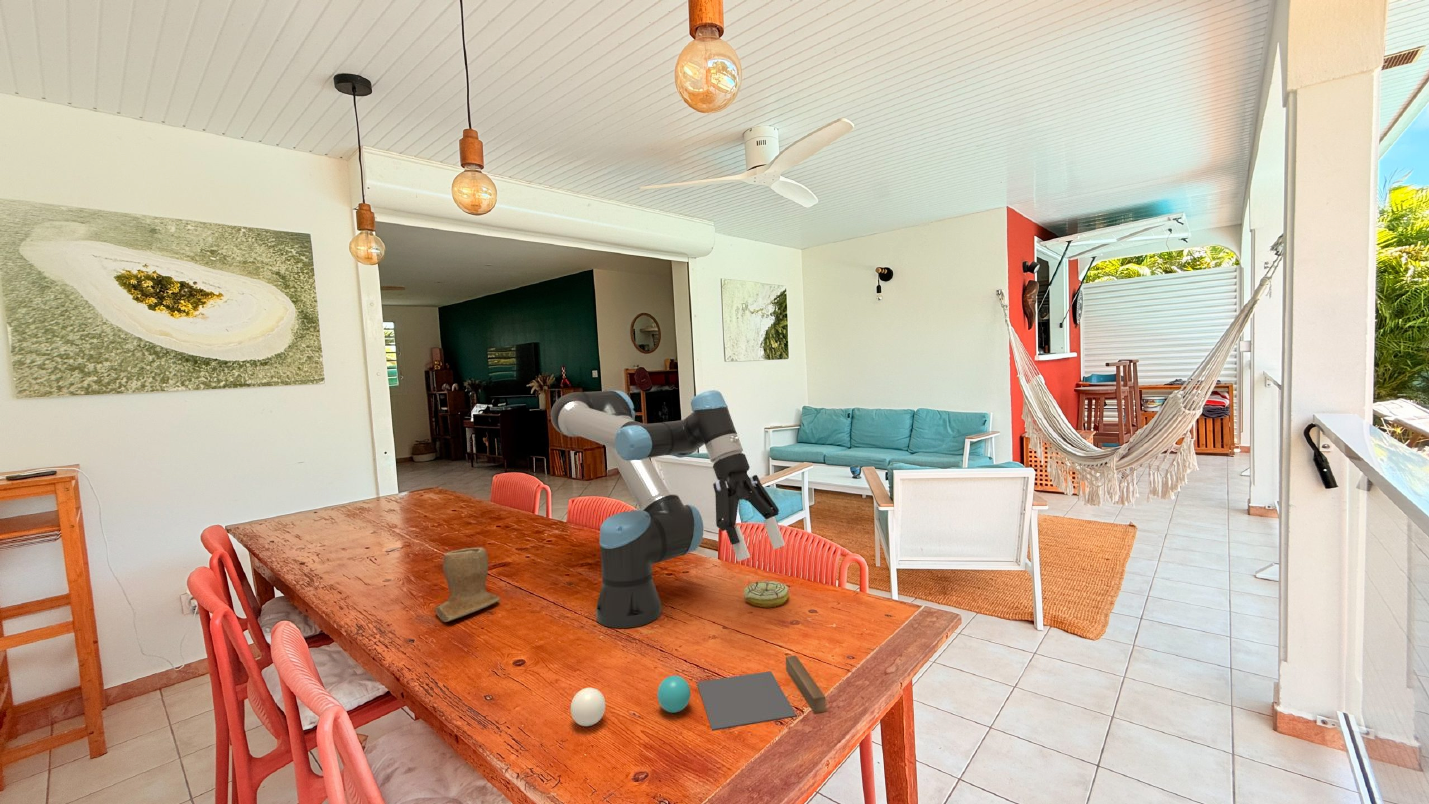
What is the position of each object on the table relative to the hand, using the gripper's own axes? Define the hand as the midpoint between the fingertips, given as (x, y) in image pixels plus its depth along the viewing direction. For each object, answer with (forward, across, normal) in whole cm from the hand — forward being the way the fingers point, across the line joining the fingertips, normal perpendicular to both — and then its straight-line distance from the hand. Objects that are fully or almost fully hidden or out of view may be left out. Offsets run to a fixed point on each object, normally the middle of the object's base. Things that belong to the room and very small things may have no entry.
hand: (762, 553), depth 118 cm
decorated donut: (+11, +19, +17) cm, 27 cm away
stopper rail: (+24, -10, -6) cm, 27 cm away
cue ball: (+13, -39, +16) cm, 44 cm away
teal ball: (+17, -28, +7) cm, 33 cm away
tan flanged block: (-12, -26, +71) cm, 77 cm away
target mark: (+22, -19, +1) cm, 29 cm away
